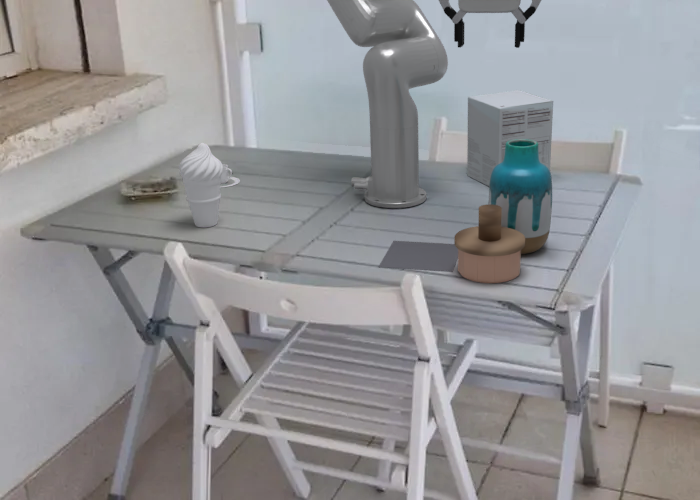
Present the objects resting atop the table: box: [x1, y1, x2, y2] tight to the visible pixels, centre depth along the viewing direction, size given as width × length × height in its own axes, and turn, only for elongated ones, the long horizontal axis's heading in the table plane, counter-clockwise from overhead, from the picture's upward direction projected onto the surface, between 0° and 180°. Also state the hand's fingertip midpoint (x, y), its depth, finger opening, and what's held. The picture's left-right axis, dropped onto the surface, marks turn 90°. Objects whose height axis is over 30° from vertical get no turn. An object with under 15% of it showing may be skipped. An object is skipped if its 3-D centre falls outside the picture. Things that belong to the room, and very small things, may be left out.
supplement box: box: [466, 89, 554, 187], centre depth 198 cm, size 13×13×18 cm
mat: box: [378, 240, 458, 273], centre depth 161 cm, size 12×12×1 cm
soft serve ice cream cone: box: [178, 142, 224, 228], centre depth 178 cm, size 8×8×16 cm
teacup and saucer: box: [220, 163, 241, 189], centre depth 206 cm, size 9×8×4 cm
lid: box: [453, 204, 525, 256], centre depth 150 cm, size 11×11×6 cm
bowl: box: [457, 249, 522, 284], centre depth 152 cm, size 10×10×5 cm
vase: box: [487, 139, 553, 255], centre depth 159 cm, size 11×11×19 cm
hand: (489, 46), depth 161 cm, fingers open, 9 cm apart
